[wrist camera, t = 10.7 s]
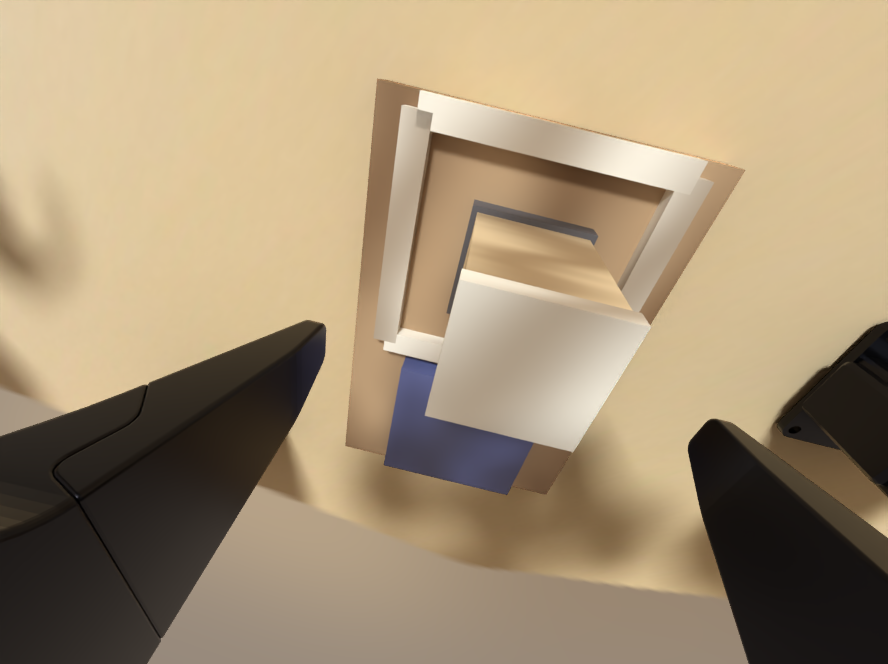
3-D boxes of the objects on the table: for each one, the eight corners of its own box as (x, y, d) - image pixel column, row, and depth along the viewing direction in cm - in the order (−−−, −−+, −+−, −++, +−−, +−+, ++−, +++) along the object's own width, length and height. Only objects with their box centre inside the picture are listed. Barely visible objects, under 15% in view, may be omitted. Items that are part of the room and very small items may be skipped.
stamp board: (726, 164, 13) (763, 176, 11) (544, 476, 23) (547, 510, 21) (386, 79, 13) (367, 77, 11) (352, 430, 23) (339, 459, 21)
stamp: (593, 228, 13) (658, 324, 8) (549, 328, 16) (575, 455, 10) (474, 199, 13) (455, 274, 8) (448, 303, 16) (420, 417, 10)
